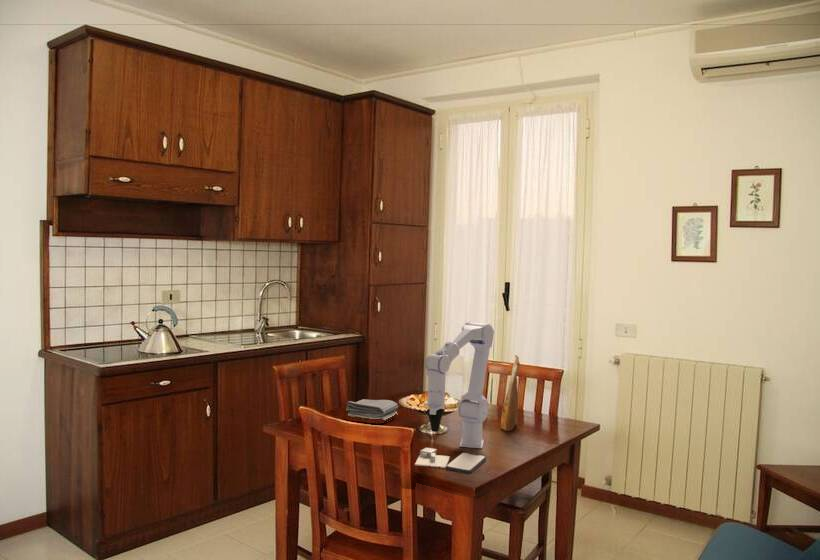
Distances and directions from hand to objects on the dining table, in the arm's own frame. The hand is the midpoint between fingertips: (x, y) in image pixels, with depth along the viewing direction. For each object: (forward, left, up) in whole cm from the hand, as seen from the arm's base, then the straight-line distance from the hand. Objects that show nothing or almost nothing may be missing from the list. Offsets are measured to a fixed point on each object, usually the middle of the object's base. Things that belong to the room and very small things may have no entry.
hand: (435, 431), depth 212 cm
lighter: (-4, 0, -8) cm, 9 cm away
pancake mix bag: (-49, +24, -10) cm, 56 cm away
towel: (-44, -33, -10) cm, 56 cm away
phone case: (+3, +11, -10) cm, 15 cm away
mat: (+3, 0, -9) cm, 10 cm away
